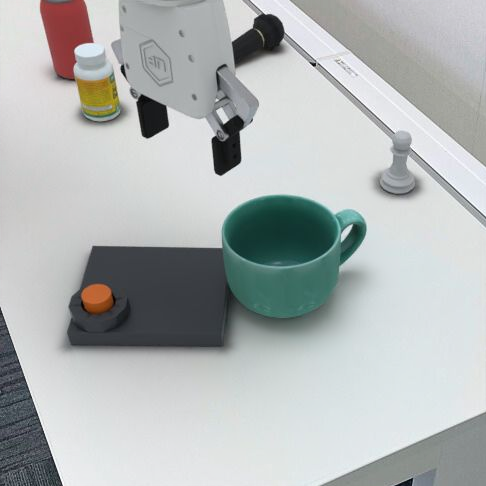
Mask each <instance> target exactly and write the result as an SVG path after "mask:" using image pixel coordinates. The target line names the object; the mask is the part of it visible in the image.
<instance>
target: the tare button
mask: <svg viewBox="0 0 486 486" xmlns="http://www.w3.org/2000/svg"><path fill="white" fill-rule="evenodd" d="M81 297H82V301H83V304H84V308H85V310H86V311H88V312H89V313H92V314H101V313H104V312H107V311H108V310H110V309H111V308H112V306H113V303H114V302H113V298H112V293H111V290H110V288H109V287H108V286H106V285H103V284H94V285H91V286H88V287H87V288H85V289H84V290H83V292H82V294H81Z"/></svg>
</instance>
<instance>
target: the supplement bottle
mask: <svg viewBox="0 0 486 486" xmlns="http://www.w3.org/2000/svg"><path fill="white" fill-rule="evenodd" d="M74 52H75V58H76V61H77V63H76V64H75V66H74V76H75V79H74V80H75V85H76V88H77V92H78V97H79V101H80V107H81V110H82V114H83V116H84V117H85V118H86V119H89V120H91V121H94V122H106V121H111V120H113V119H115V118H117V117H118V116H119V114H120V113H121V110H122V109H121V103H120V97H119V92H118V86H117V81H116V75H115V70H114V66H113V64H112V62H111V61H110V60H108V59H107V53H106V50H105V46H103V45H102V44H100V43H95V42H94V43H86V44H82V45H79V46H78V47H76V48H75V50H74Z"/></svg>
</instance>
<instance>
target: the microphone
mask: <svg viewBox="0 0 486 486" xmlns="http://www.w3.org/2000/svg"><path fill="white" fill-rule="evenodd" d="M285 32H286V31H285V26H284V23H283V22H282V20H281V19H280V18H279V17H278V16H276V15H275V14H272V13H266V14H265V13H261V14H259V15H257V16H256V17H255V18H254V19H253V24H252V27H251V28H250V29H248V30H247V31H246V32H244V33H243V34H240V36H238V37H237V38H235V39H234V40H231V42H232V48H233V56H234V63H236V62H238V61H241V60H242V59H244V58H245V57H248V56H250V55H252V54H253V53H256V52H257V51H259V50H261V49H263V48H264V49H267V50H270V51H272V50H274V49H276V48H278V47H280V46H281V42H283V39H284V38H285Z"/></svg>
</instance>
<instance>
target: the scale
mask: <svg viewBox="0 0 486 486" xmlns="http://www.w3.org/2000/svg"><path fill="white" fill-rule="evenodd" d="M94 284H103V285H106V286H108V287H109V288H110V290H111V293H112V298H113V302H114V303H113V306H112V308H111V309H110V310H108V311H107V312H104V313H101V314H92V313H89V312H88V311H86V310H85V308H84V304H83V301H82V297H81V294H82V292H83V290H84V289H85V288H87V287H88V286H91V285H94ZM229 291H230V287H229V284H228V281H227V277H226V272H225V266H224V259H223V249H222V247H190V246H188V247H186V246H185V247H184V246H181V247H180V246H133V245H132V246H129V245H128V246H125V245H92V247H91V250H90V253H89V257H88V261H87V264H86V267H85V270H84V273H83V277H82V280H81V285H80V287H79V290H77V291H76V292H75V293H74V294H73V295H71V296H70V300H69V303H68V310H69V313H70V321H69V324H68V327H67V331H66V335H67V337H68V341H69V343H70V345H71V346H72V345H73V346H74V345H76V346H77V345H78V346H161V347H163V346H165V347H166V346H167V347H168V346H174V347H175V346H176V347H223V346H224V337H225V329H226V328H225V327H226V320H227V310H228V302H229V301H228V300H229Z"/></svg>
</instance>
